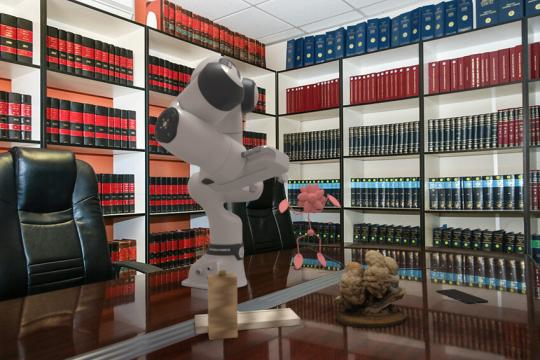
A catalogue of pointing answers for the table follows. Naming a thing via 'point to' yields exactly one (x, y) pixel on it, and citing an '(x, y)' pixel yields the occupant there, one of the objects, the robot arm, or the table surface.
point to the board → (255, 319)
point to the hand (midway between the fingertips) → (269, 185)
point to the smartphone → (462, 296)
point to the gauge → (222, 305)
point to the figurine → (311, 202)
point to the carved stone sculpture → (370, 293)
